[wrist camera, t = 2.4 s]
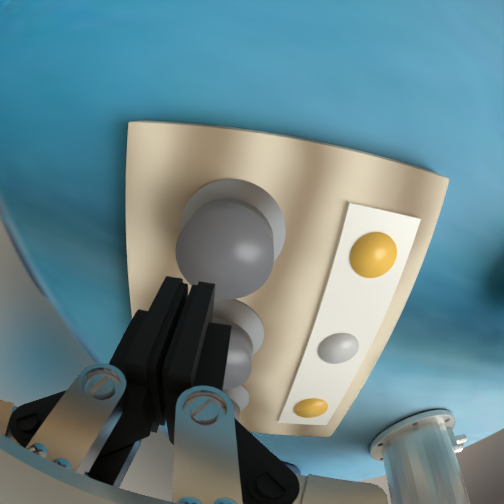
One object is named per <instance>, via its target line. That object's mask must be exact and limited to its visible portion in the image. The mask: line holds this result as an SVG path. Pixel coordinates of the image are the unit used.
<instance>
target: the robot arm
mask: <svg viewBox="0 0 504 504" xmlns="http://www.w3.org/2000/svg"><path fill="white" fill-rule="evenodd" d="M214 296H215V284H214V283H207V282H201V281H199V283H198V285H192V286H191V289H190V292H189V294H188V284H186V283H183V279H182V278H176V277H170V276H166V277H165V279H164V281H163V283H162V285H161V287H160V289H159V290H158V292H157V294H156V296H155V298H154V300H153V302H152V304H151V306H150V308H149V310H148V311H145V310H140V309H139V310H137V312H136V313H135V315H134V317H133V318H132V320H131V322H130V324H129V326H128V328H127V330H126V331H125V333H124V335H123V337H122V339H121V341H120V343H119V345H118V347H117V349H116V351H115V353H114V355H113V357H112V359H111V361H110V363H109V364H95V365H91V366H89V367H87V368H85V369H84V370H83V371H82V372H81V373H80V374H79V375H78V377H77V378H76V379H75V381H74V382H73V383H72V384H71V386H70V387H69V388H68V389H67V390H66V391H63V392H60V393H57V394H54V395H51V396H48V397H45V398H42V399H39V400H36V401H33V402H30V403H27V404H24V405H21V406H19V407H16V406H15V404H14V403H10V402H6V401H2V400H0V504H388V501H387V495H386V493H385V492H384V490H383V489H382V488H380V487H379V486H378V485H375V484H371V483H364V482H355V481H348V480H341V479H334V478H328V477H322V476H317V475H312V474H309V475H308V476H305V475H300V474H295V473H294V472H293V471H292V470H291V469H290V468H289V467H287V466H286V465H285V464H284V463H283V462H282V461H280V460H279V459H278V458H277V457H276V456H275V455H274V454H273V453H271V452H270V451H269V450H268V449H267V448H266V447H265V446H264V445H263V444H262V443H260V442H259V441H258V440H257V439H256V438H255V437H254V436H253V435H252V434H251V433H250V432H249V431H248V430H247V429H246V428H245V427H244V426H243V425H242V424H241V423H239V422H238V421H237V420H236V419H235V418H234V408H233V405H232V401H231V400H230V398H229V397H228V396H227V395H226V394H225V393H224V392H223V385H224V378H225V371H226V364H227V357H228V350H229V343H230V335H231V328H232V325H226V324H219V323H213V322H212V319H213V308H214ZM166 420H167V427H168V433H169V440H170V441H171V443H172V444H173V445H174V455H173V494H172V495H173V496H172V499H173V500H172V502H169V501H165V500H161V499H157V498H153V497H148V496H145V495H141V494H137V493H134V492H130V491H127V490H124V489H120V488H119V487H120V485H121V483H122V481H123V479H124V476H125V475H126V472H127V471H128V469H129V467H130V465H131V463H132V461H133V459H134V457H135V454H136V452H137V451H138V449H139V447H140V444H141V440H142V439H143V438H145V437H148V436H149V435H150V432H151V431H152V432H157V430H158V426H159V425H163V426H164V425H165V422H166ZM454 425H455V418H454V416H453V414H452V413H451V412H450V411H447V410H432V411H427V412H423V413H420V414H417V415H414V416H411V417H409V418H406V419H404V420H402V421H400V422H398V423H396V424H394V425H393V426H391V427H389V428H388V429H386V430H385V431H383V432H382V433H381V434H379V435H378V436H377V437H376V438H375V439H374V440H373V442H372V444H371V445H370V454H371V456H372V458H373V459H375V460H378V461H383V462H384V465H385V471H386V476H387V481H388V486H389V492H390V498H391V504H470V502H469V499H468V495H467V491H466V488H465V484H464V481H463V477H462V474H461V471H460V468H459V464H458V461H457V458H456V455H455V453H458V452H461V451H462V449H463V443H464V442H465V441H466V435H464V434H463V435H458V436H454V433H453V431H452V429H453V427H454Z"/></svg>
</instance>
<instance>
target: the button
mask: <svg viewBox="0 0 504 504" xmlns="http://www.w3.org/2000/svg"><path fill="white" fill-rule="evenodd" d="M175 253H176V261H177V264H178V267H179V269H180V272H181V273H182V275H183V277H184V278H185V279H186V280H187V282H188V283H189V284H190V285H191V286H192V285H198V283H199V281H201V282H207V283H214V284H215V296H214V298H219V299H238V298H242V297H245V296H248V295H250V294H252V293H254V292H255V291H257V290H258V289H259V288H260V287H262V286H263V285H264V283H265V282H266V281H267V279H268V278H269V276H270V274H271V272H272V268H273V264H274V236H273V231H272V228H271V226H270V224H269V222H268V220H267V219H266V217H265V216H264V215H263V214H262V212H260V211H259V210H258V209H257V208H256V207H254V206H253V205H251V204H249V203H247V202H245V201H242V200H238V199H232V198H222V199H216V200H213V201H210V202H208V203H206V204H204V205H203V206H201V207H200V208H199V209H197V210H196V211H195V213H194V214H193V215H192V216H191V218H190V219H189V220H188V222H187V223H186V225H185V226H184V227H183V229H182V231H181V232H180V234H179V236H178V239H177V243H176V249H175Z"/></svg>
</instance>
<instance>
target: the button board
mask: <svg viewBox="0 0 504 504" xmlns="http://www.w3.org/2000/svg"><path fill="white" fill-rule="evenodd" d="M448 183H449V179H448V178H446V177H444V176H442V175H440V174H438V173H436V172H433V171H430V170H427V169H424V168H421V167H418V166H414V165H411V164H408V163H404V162H401V161H397V160H394V159H390V158H387V157H383V156H379V155H376V154H372V153H368V152H364V151H360V150H356V149H351V148H347V147H343V146H338V145H334V144H329V143H325V142H320V141H315V140H310V139H304V138H299V137H294V136H288V135H282V134H276V133H270V132H263V131H256V130H249V129H242V128H234V127H225V126H216V125H206V124H195V123H183V122H168V121H147V120H140V121H132V122H129V124H128V139H127V158H126V244H127V264H128V279H129V291H130V302H131V312H132V318H133V317H134V315H135V313H136V312H137V310H139V309H140V310H145V311H148V310H149V308H150V306H151V304H152V302H153V300H154V298H155V296H156V294H157V292H158V290H159V289H160V287H161V285H162V283H163V281H164V279H165V277H166V276H170V277H176V278H182V279H183V283H186V284H188V294H189V292H190V289H191V285H190V284H189V283H188V282H187V280H186V279H185V278H184V277H183V275H182V273H181V272H180V269H179V267H178V264H177V261H176V253H175V249H176V243H177V239H178V236H179V234H180V232H181V231H182V229H183V227H184V226H185V225H186V223H187V222H188V220H189V219H190V218H191V216H192V215H193V214H194V213H195V211H196V210H197V209H199V208H200V207H201V206H203V205H204V204H206V203H208V202H210V201H213V200H216V199H222V198H232V199H238V200H242V201H245V202H247V203H249V204H251V205H253V206H254V207H256V208H257V209H258V210H259V211H260V212H262V214H263V215H264V216H265V217H266V219H267V220H268V222H269V224H270V226H271V228H272V231H273V236H274V264H273V268H272V272H271V274H270V276H269V278H268V279H267V281H266V282H265V283H264V285H263V286H262V287H260V288H259V289H258V290H257V291H255V292H254V293H252V294H250V295H248V296H245V297H242V298H238V299H219V298H214V308H213V318H219V319H224V320H228V321H230V322H233V323H235V324H237V325H238V326H240V327H241V328H243V329H244V330H245V331H246V332H247V333H248V335H249V336H250V338H251V340H252V343H253V357H252V368H251V374H250V376H249V378H248V379H247V380H246V381H245V382H244V383H243V384H241V385H240V386H238V387H235V388H231V389H225V390H223V392H224V393H225V394H226V395H227V396H228V397H229V398H231V399H232V400H234V401H235V402H236V403H237V404H238V406H239V408H240V416H239V423H241V424H242V425H243V426H244V427H245V428H246V429H247V430H248V431H249V432H256V433H266V434H278V435H292V436H315V437H331V435H332V434H333V432H334V431H335V429H336V428H337V426H338V425H339V423H340V422H341V420H342V419H343V417H344V416H345V414H346V413H347V411H348V410H349V408H350V406H351V405H352V403H353V402H354V400H355V398H356V397H357V395H358V393H359V392H360V390H361V388H362V387H363V385H364V383H365V382H366V380H367V378H368V376H369V375H370V373H371V371H372V369H373V368H374V366H375V364H376V362H377V360H378V358H379V357H380V355H381V353H382V351H383V349H384V347H385V345H386V343H387V341H388V339H389V337H390V335H391V333H392V331H393V329H394V327H395V325H396V323H397V321H398V319H399V317H400V314H401V312H402V310H403V308H404V306H405V303H406V301H407V299H408V297H409V294H410V292H411V290H412V287H413V285H414V283H415V280H416V278H417V275H418V273H419V270H420V268H421V265H422V263H423V260H424V257H425V255H426V252H427V249H428V246H429V244H430V241H431V238H432V235H433V232H434V229H435V226H436V223H437V220H438V217H439V214H440V210H441V207H442V204H443V200H444V197H445V194H446V190H447V186H448ZM348 202H352V203H357V204H362V205H367V206H371V207H376V208H380V209H385V210H389V211H394V212H398V213H402V214H406V215H411V216H415V217H419V218H420V219H421V220H420V224H419V227H418V230H417V233H416V236H415V239H414V242H413V245H412V248H411V250H410V253H409V256H408V259H407V261H406V264H405V267H404V269H403V272H402V275H401V277H400V280H399V282H398V285H397V287H396V290H395V292H394V295H393V297H392V299H391V302H390V304H389V306H388V309H387V311H386V313H385V316H384V318H383V320H382V322H381V324H380V327H379V329H378V331H377V333H376V335H375V337H374V339H373V341H372V344H371V346H370V348H369V350H368V352H367V354H366V356H365V358H364V360H363V362H362V363H361V365H360V367H359V369H358V371H357V373H356V375H355V377H354V379H353V380H352V382H351V384H350V386H349V388H348V389H347V391H346V393H345V395H344V397H343V398H342V400H341V402H340V403H339V405H338V407H337V409H336V410H335V412H334V414H333V415H332V417H331V418H330V420H329V422H328V423H327V425H307V424H290V423H278V419H279V417H280V414H281V412H282V409H283V407H284V404H285V402H286V399H287V396H288V394H289V391H290V389H291V386H292V383H293V381H294V378H295V375H296V372H297V370H298V367H299V364H300V361H301V359H302V356H303V353H304V350H305V347H306V344H307V341H308V339H309V336H310V333H311V330H312V327H313V324H314V321H315V317H316V314H317V311H318V308H319V305H320V302H321V299H322V295H323V292H324V289H325V286H326V282H327V279H328V275H329V272H330V269H331V265H332V262H333V258H334V255H335V251H336V247H337V244H338V240H339V236H340V233H341V229H342V225H343V221H344V217H345V213H346V209H347V205H348Z"/></svg>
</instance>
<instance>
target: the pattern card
mask: <svg viewBox="0 0 504 504" xmlns="http://www.w3.org/2000/svg"><path fill="white" fill-rule="evenodd" d="M420 220H421V219H420V218H419V217H415V216H411V215H406V214H402V213H398V212H394V211H389V210H385V209H380V208H376V207H371V206H367V205H362V204H357V203H352V202H348V205H347V209H346V213H345V217H344V221H343V225H342V229H341V233H340V236H339V240H338V244H337V247H336V251H335V255H334V258H333V262H332V265H331V269H330V272H329V275H328V279H327V282H326V286H325V289H324V292H323V295H322V299H321V302H320V305H319V308H318V311H317V314H316V317H315V321H314V324H313V327H312V330H311V333H310V336H309V339H308V341H307V344H306V347H305V350H304V353H303V356H302V359H301V361H300V364H299V367H298V370H297V372H296V375H295V378H294V381H293V383H292V386H291V389H290V391H289V394H288V396H287V399H286V402H285V404H284V407H283V409H282V412H281V414H280V417H279V419H278V423H290V424H307V425H327V423H328V422H329V420H330V418H331V417H332V415H333V414H334V412H335V410H336V409H337V407H338V405H339V403H340V402H341V400H342V398H343V397H344V395H345V393H346V391H347V389H348V388H349V386H350V384H351V382H352V380H353V379H354V377H355V375H356V373H357V371H358V369H359V367H360V365H361V363H362V362H363V360H364V358H365V356H366V354H367V352H368V350H369V348H370V346H371V344H372V341H373V339H374V337H375V335H376V333H377V331H378V329H379V327H380V324H381V322H382V320H383V318H384V316H385V313H386V311H387V309H388V306H389V304H390V302H391V299H392V297H393V295H394V292H395V290H396V287H397V285H398V282H399V280H400V277H401V275H402V272H403V269H404V267H405V264H406V261H407V259H408V256H409V253H410V250H411V248H412V245H413V242H414V239H415V236H416V233H417V230H418V227H419V224H420Z"/></svg>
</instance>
